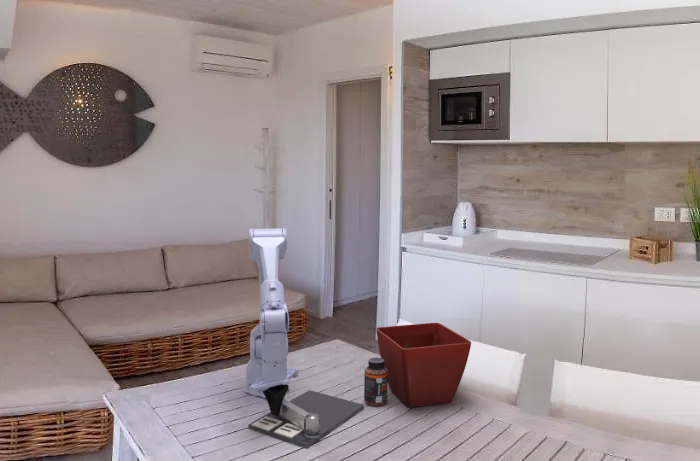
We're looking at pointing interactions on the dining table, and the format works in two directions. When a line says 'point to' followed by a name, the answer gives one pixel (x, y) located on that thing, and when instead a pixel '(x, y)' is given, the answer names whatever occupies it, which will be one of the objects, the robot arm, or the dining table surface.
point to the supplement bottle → (375, 382)
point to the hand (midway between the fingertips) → (275, 414)
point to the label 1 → (267, 423)
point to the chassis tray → (326, 406)
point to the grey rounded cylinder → (312, 426)
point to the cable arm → (293, 413)
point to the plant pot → (423, 362)
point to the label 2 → (289, 430)
